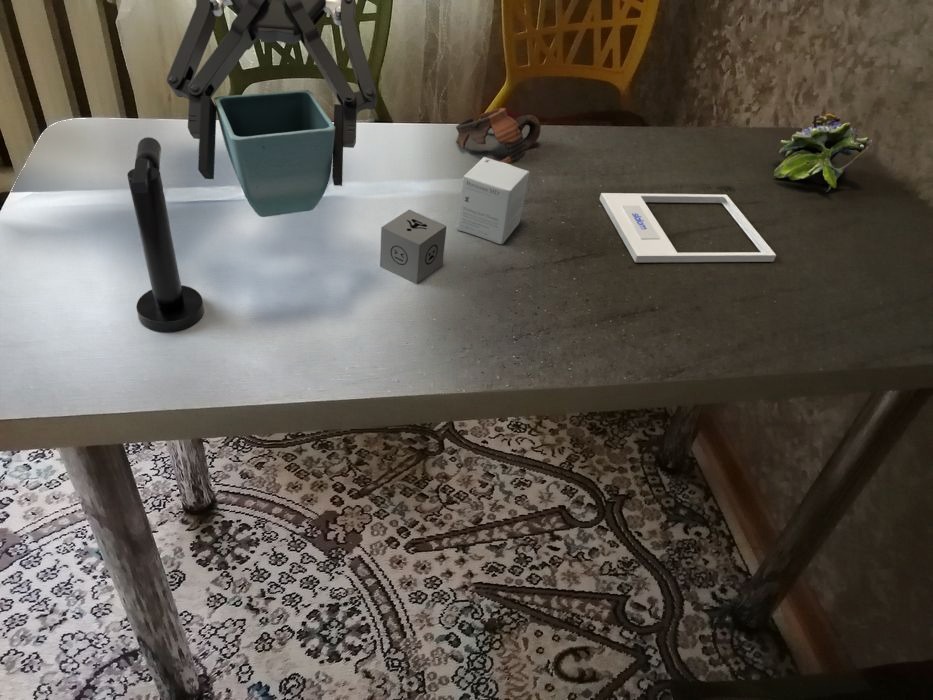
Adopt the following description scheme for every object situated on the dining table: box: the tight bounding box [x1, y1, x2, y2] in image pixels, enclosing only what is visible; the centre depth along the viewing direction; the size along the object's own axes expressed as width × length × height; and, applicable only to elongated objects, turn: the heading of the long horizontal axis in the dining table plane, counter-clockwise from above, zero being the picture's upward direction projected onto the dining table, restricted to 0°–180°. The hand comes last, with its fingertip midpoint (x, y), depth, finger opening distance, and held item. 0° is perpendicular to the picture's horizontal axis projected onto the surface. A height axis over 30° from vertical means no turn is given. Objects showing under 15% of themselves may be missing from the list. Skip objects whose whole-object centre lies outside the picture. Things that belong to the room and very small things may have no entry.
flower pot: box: [213, 89, 335, 218], centre depth 68 cm, size 9×9×9 cm
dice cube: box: [379, 209, 447, 285], centre depth 81 cm, size 5×5×5 cm
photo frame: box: [599, 192, 777, 263], centre depth 94 cm, size 15×1×18 cm
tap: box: [126, 136, 205, 333], centre depth 69 cm, size 11×6×16 cm, turn 14°
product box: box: [457, 156, 530, 245], centre depth 88 cm, size 6×6×7 cm
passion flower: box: [773, 113, 873, 193], centre depth 107 cm, size 11×11×12 cm
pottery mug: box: [455, 107, 542, 165], centre depth 103 cm, size 12×10×8 cm
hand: (272, 178), depth 66 cm, fingers closed on flower pot, 11 cm apart
